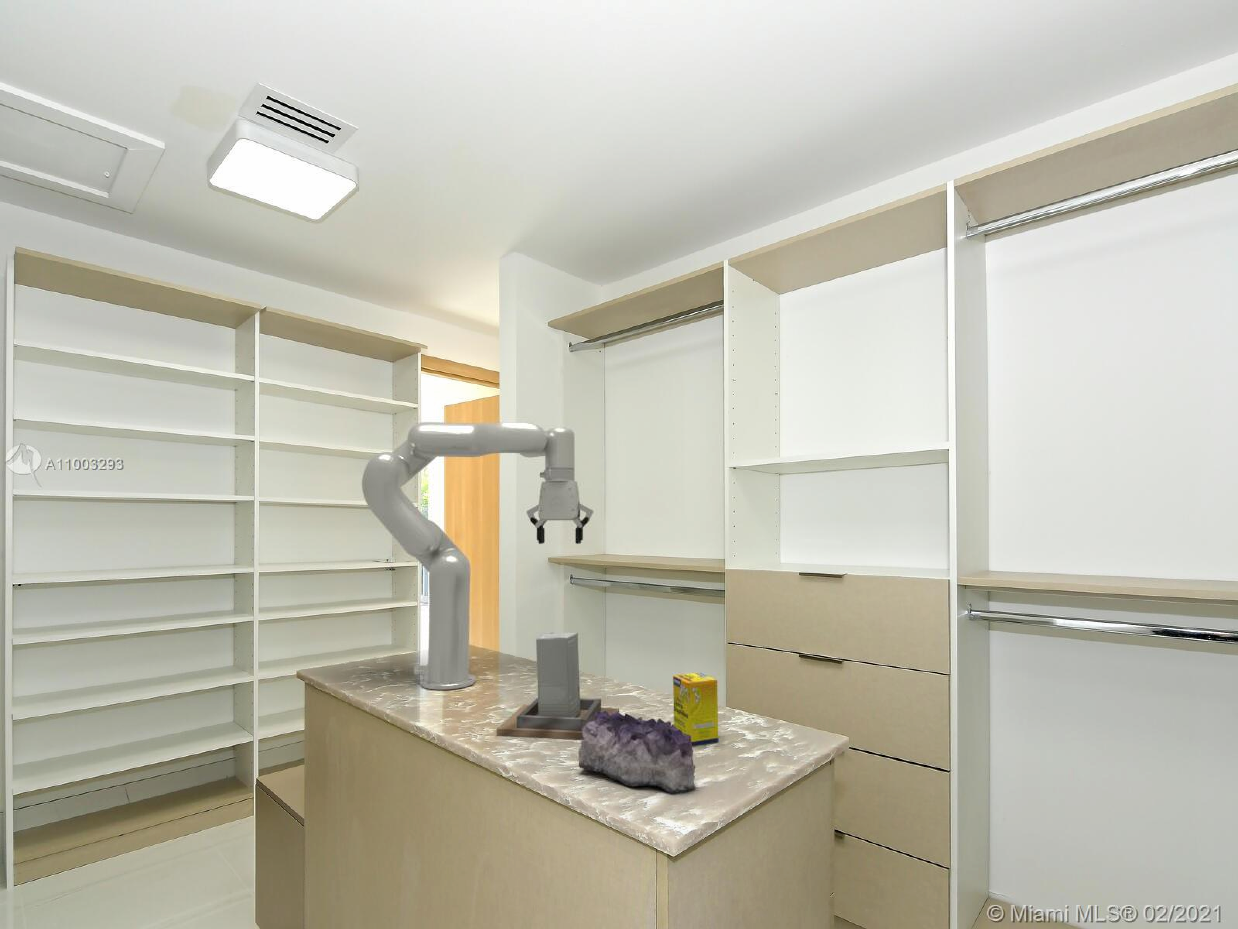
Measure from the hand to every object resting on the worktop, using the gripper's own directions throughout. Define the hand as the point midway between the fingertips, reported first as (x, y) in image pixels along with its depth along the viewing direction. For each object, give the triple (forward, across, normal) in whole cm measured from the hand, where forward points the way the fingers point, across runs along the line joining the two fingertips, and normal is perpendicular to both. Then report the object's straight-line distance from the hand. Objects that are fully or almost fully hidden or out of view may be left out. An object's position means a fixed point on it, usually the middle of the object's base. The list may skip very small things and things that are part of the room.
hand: (559, 543), depth 166 cm
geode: (+34, +28, -59) cm, 74 cm away
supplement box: (+34, +36, -42) cm, 65 cm away
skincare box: (+32, +10, -37) cm, 50 cm away
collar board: (+33, +10, -37) cm, 51 cm away
